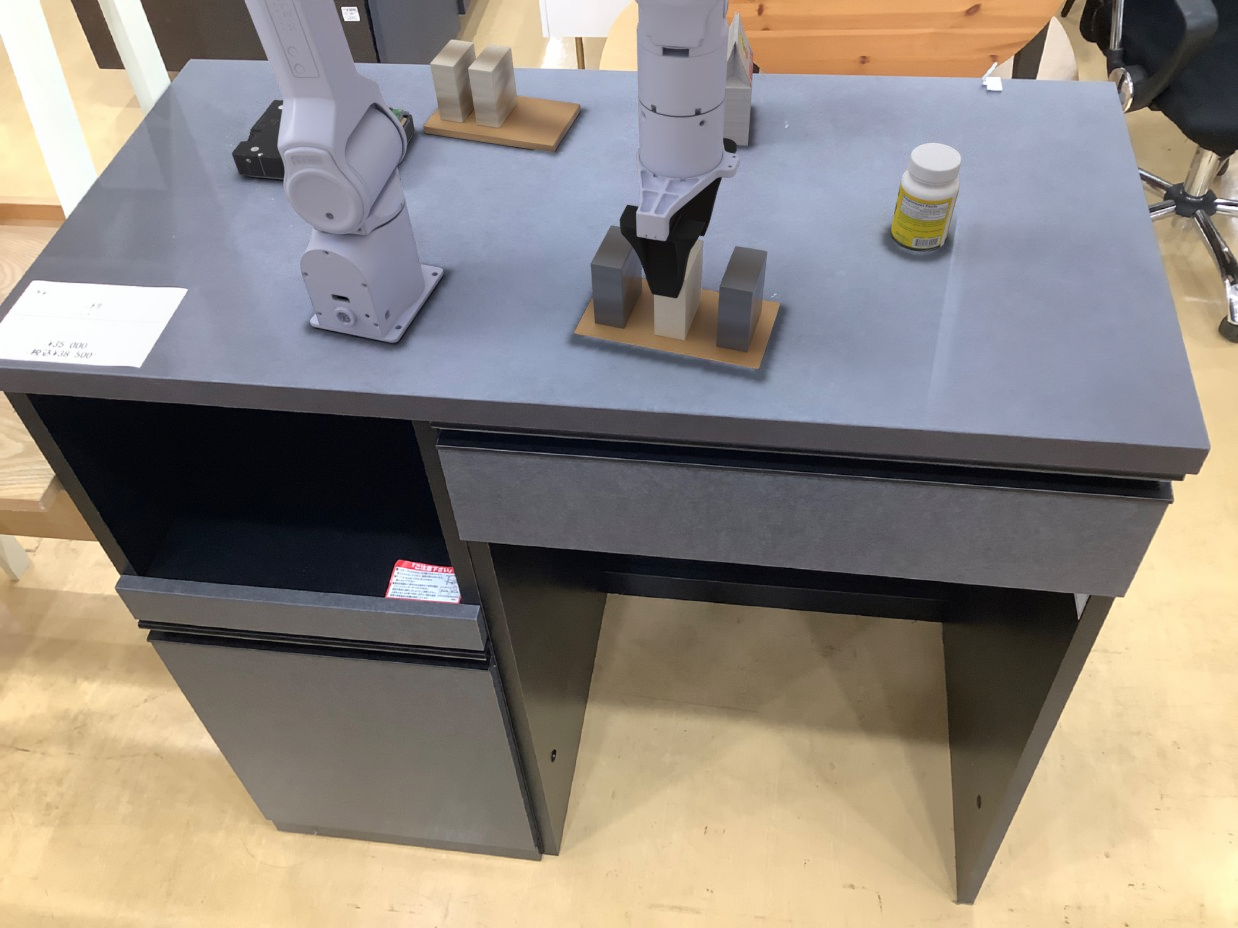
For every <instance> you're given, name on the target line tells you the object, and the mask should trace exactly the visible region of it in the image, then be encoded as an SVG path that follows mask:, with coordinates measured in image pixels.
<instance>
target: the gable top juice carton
mask: <svg viewBox="0 0 1238 928" xmlns="http://www.w3.org/2000/svg"><path fill="white" fill-rule="evenodd" d="M728 27H729V32H728V52H727V73H726V94H725V110H724V130H723V138H728V139H731V140H733V141H734V142H735V143H736V144H737V146H748V145H749V134H750V133H749V131H750V123H751V122H750V121H751V110H752V109H751V107H752V96H753V95H752V94H753V75H754V74H753V72H754V51H753V49H752V46H751V44H750V41H749V38H748V37H747V34H746V32H745V29H744V26H743V23H742V19H741V12H740V11H738V13H737V11H734V15H733V19H732V21H731V23H730V25H729V26H728Z"/></svg>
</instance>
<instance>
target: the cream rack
mask: <svg viewBox="0 0 1238 928" xmlns="http://www.w3.org/2000/svg"><path fill="white" fill-rule="evenodd" d="M429 64H430V65H429V66H430V71H431V75H432V81H433V82H432V83H433V86H434V91H435V97H436V102H437V108H436V109H435V111H434V112H433V114H432V115H431V116H430V117H429V119H428V120H427V121H426V122H425V123H424V124H423V125H422V128H423V132H424V134H429V135H436V136H441V137H448V138H454V139H460V140H468V141H474V142H481V143H488V144H493V145H501V146H508V147H513V148H514V147H515V148H521V149H527V150H533V151H534V150H537V151H543V152H550V153H555V151H556V150H557V148H558V147H559V145H560V144H561V142H562V140H563V139H564V137H565V136H566V135H567V133H568V131H569V130H570V128H571V126H572V125H573V123H574V122H575V120H576V119H577V117H578V116H579V114H580V112H581V104H580V103H574V102H567V101H560V100H555V99H554V100H553V99H546V98H538V97H531V96H524V95H518V93H517V85H516V77H515V69H514V60H513V53H512V47H511V46H505V45H497V44H490V43H488V44H487V45H486V46H485V47H484V49H482V51H481V52H480V53H479V54H478V56H476V49H475V43H474V42H473V41H467V40H458V39H450V40H449V41H448V42H447V43H446V44H445V46H443V48H442V49H441V50H440V51H439V53H437V55H436V56H434V58H433V60H431V62H430V63H429Z"/></svg>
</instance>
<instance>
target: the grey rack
mask: <svg viewBox="0 0 1238 928" xmlns="http://www.w3.org/2000/svg"><path fill="white" fill-rule="evenodd" d="M767 258H768V251H767V250H764V249H756V248H752V247H751V248H750V247H746V246H739V245H735V246H734V249H733V250H732V253H731V256H730V259H729V261H728V264H727V266H726V268H725V271H724V274H723V277H722V279H721V281H720V283H719V287H718V288H719V289H718V291H717V290H709V289H705V288H701V302H700V304H699V307H698V309H697V312H696V314H695V317H694V319H693V322H692V324H691V327H690V329H689V331H688V334H687V336H686V339H685V340H679V339H674V338H669V337H664V336H658V335H655V334H654V295H653V294H652V293H651V291H650V288H649V285H648V283H647V280H646V278H643V267H642V265H641V262H640V259H639V257H638V255H637V253H636V252H635V250H634V249H633V247H632V246H631V244H630V243H629V242H628V241H627V239H626V238H625V237H624V236H623V235H622V234H621V230H620V225H619V226H618V225H613V224H612V225H610V226H609V228H608V230H607V232H606V234H605V235H604V237H603V240H602V241H601V243H600V245H599V247H598V249H597V251H596V252H595V255H594V256H593V258H592V260H591V262H590V273H591V274H590V276H591V291H592V297H591V299H590V300H589V303H588V304H587V306H586V308H585V310H584V312H583V314H582V316H581V318H580V320H579V322H578V324H577V326H576V328H575V329H574V331H573V334H575V335H580V336H585V337H591V338H594V339H595V338H596V339H600V340H606V341H612V342H616V343H622V344H627V345H632V346H638V347H640V348H641V347H642V348H647V349H652V350H658V351H663V352H667V353H671V354H678V355H684V356H687V357H693V358H699V359H704V360H709V361H715V362H720V363H725V364H729V365H733V366H734V365H735V366H738V367H739V366H741V367H745V368H749V369H750V368H751V369H754V370H760V368H761V364H762V361H763V359H764V355H765V352H766V349H767V345H768V343H769V339H770V337H771V334H772V331H773V327H774V325H775V321H776V318H777V315H778V312H779V309H780V306H781V302H778V301H773V300H772V301H771V300H766V299H764V289H765V281H766V271H767V270H766V269H767V262H768V261H767V260H768V259H767Z"/></svg>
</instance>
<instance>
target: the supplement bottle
mask: <svg viewBox="0 0 1238 928" xmlns="http://www.w3.org/2000/svg"><path fill="white" fill-rule="evenodd" d="M961 164H962V155H961V153H960V152H959V151H958V150H957V149H955V148H954V147H952V146H950V145H948V144H944V143H939V142H927V143H922V144H920V145H918V146H916V147H914V148H913V150H912V151H911V154H910V156H909V160H908V164H907V169H906V170H905V171H904V172H903V174H902V176H901V179H900V183H899V188H898V193H897V198H896V202H895V208H894V212H893V218H892V222H891V228H890V237H891V239H892V240H893V242H894V243H895V244H897V245H898V246H900V247H901V248H904V249H906V250H909V251H913V252H930V251H931V252H932V251H935V250H938V249H941V247H943V245H944V244H946V241H947V239H948V234H949V230H950V226H951V222H952V218H953V215H954V210H955V206H956V203H957V199H958V195H959V191H960V188H961V180H960V178H959V173H960V170H961Z"/></svg>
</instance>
